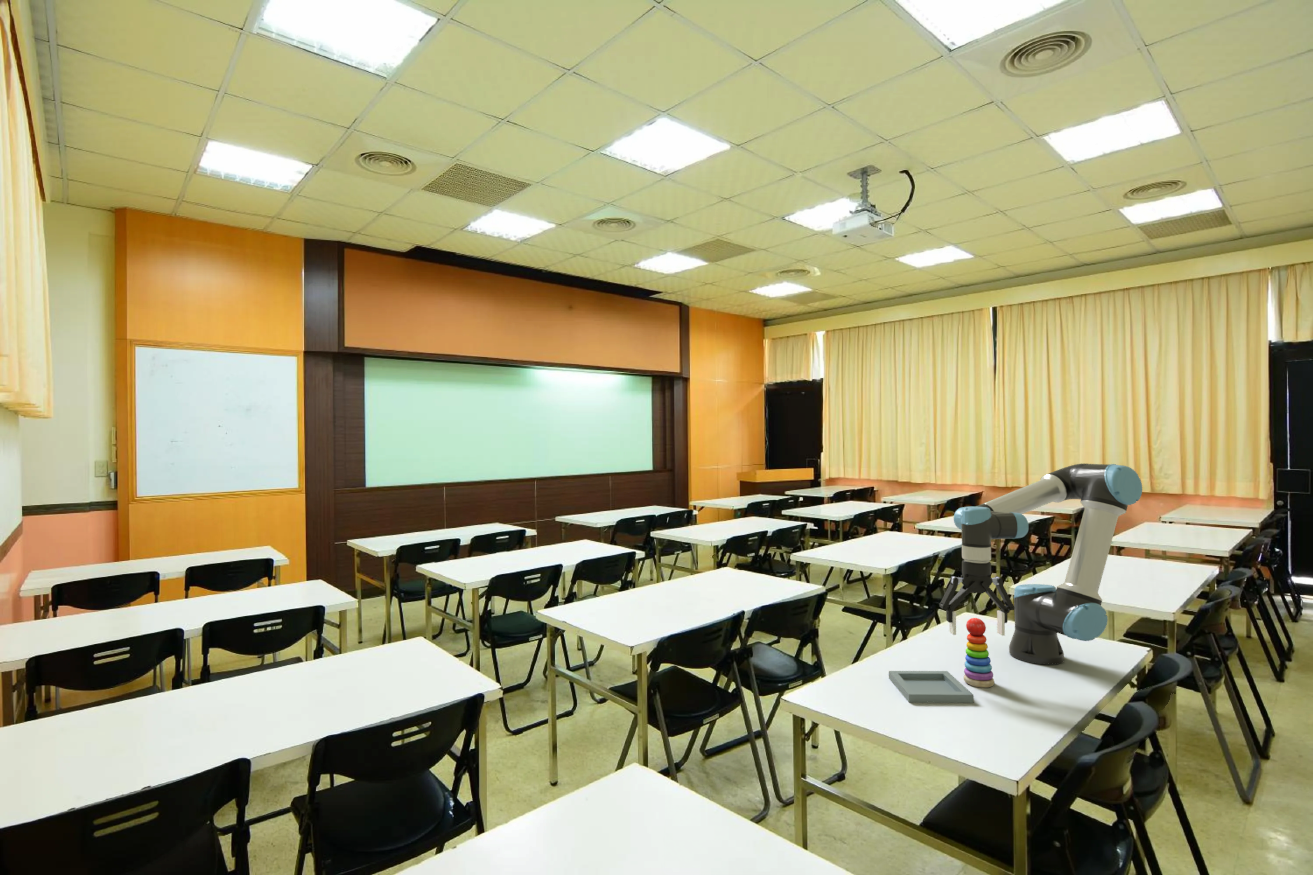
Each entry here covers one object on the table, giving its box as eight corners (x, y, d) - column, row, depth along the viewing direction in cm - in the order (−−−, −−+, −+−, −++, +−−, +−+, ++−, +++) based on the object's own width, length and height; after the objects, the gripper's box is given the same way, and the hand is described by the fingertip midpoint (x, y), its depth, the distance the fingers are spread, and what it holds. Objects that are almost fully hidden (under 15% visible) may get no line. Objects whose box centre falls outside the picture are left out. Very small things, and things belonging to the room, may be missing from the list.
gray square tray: (947, 678, 183) (947, 670, 183) (973, 702, 166) (973, 694, 166) (888, 678, 184) (888, 670, 184) (909, 702, 167) (908, 694, 167)
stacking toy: (987, 678, 183) (985, 614, 183) (999, 688, 175) (998, 622, 175) (959, 677, 184) (958, 614, 184) (970, 688, 176) (968, 622, 176)
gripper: (1013, 558, 183) (1014, 630, 182) (927, 557, 184) (927, 629, 184) (1027, 563, 175) (1028, 638, 175) (937, 562, 176) (937, 637, 176)
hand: (976, 633), depth 179 cm, fingers open, 13 cm apart
